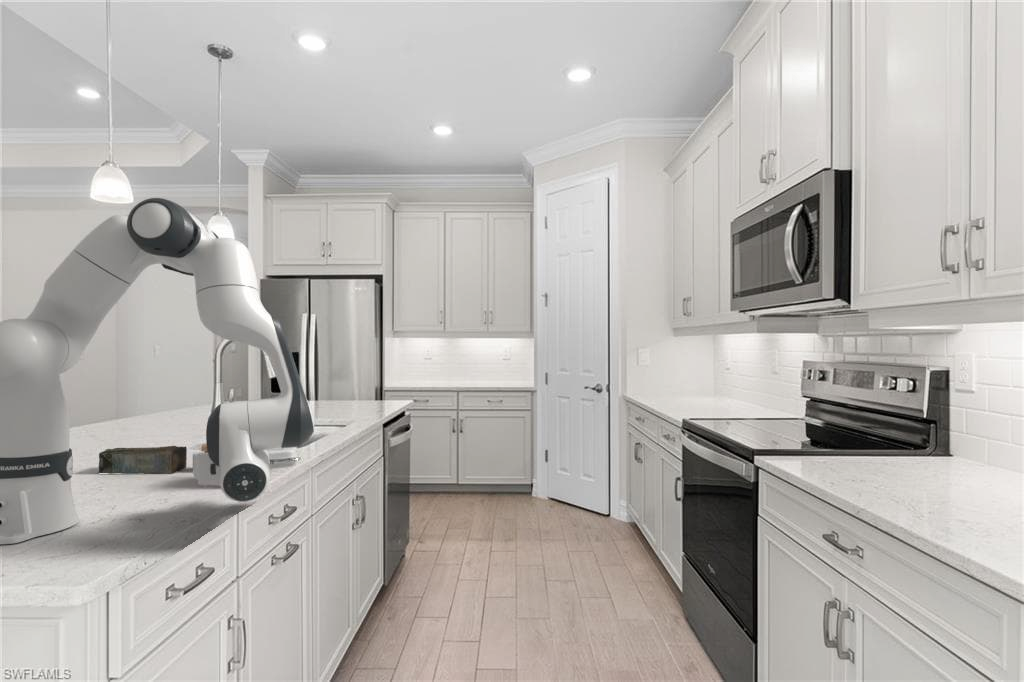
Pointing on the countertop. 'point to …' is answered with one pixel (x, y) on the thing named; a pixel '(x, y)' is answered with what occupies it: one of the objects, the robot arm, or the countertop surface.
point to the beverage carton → (143, 460)
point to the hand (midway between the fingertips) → (247, 452)
